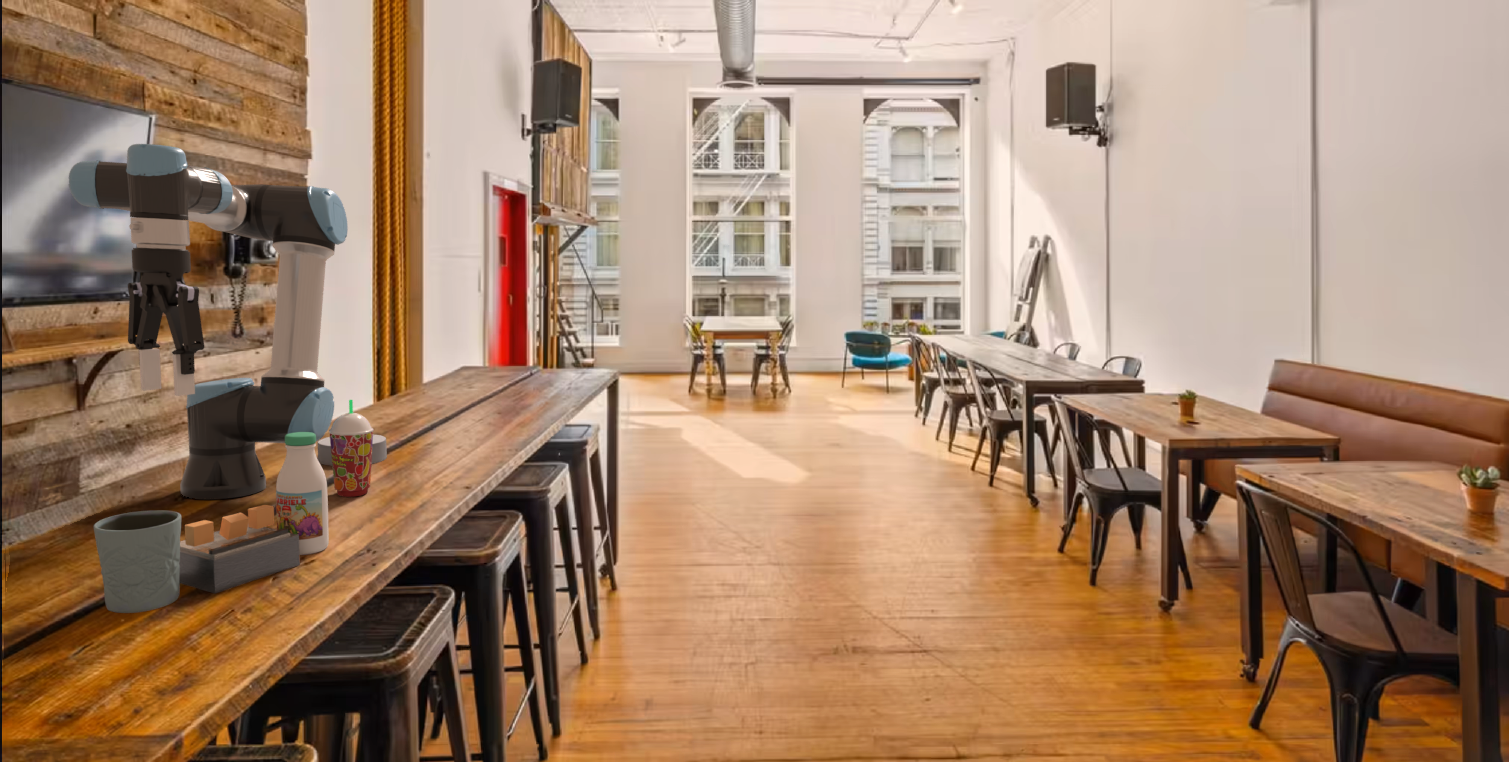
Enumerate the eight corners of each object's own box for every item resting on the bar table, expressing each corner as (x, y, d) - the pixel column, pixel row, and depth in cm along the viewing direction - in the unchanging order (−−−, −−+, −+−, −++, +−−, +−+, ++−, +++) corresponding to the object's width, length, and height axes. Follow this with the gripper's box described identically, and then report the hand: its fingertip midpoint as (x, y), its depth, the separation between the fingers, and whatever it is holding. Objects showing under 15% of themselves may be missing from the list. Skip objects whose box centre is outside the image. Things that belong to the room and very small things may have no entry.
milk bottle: (290, 541, 149) (286, 428, 146) (336, 542, 149) (333, 430, 147) (269, 556, 141) (265, 437, 138) (317, 557, 142) (314, 439, 139)
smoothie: (321, 495, 177) (319, 400, 174) (353, 486, 185) (352, 395, 182) (351, 501, 174) (349, 404, 171) (383, 491, 182) (381, 399, 179)
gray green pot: (130, 620, 115) (125, 534, 114) (80, 607, 119) (75, 523, 117) (201, 594, 125) (198, 515, 123) (153, 583, 128) (149, 505, 126)
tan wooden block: (248, 527, 137) (247, 508, 136) (265, 522, 139) (265, 504, 139) (257, 529, 136) (256, 510, 135) (274, 524, 139) (273, 506, 138)
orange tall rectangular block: (185, 544, 127) (184, 525, 127) (205, 538, 130) (204, 520, 130) (194, 546, 127) (193, 527, 126) (214, 541, 129) (213, 522, 129)
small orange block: (219, 534, 132) (222, 517, 131) (237, 528, 135) (241, 512, 134) (227, 539, 131) (231, 523, 130) (246, 534, 134) (249, 518, 133)
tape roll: (303, 462, 204) (302, 441, 204) (350, 450, 219) (350, 431, 218) (355, 469, 200) (355, 448, 199) (400, 456, 214) (400, 437, 214)
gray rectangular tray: (162, 578, 130) (160, 540, 129) (249, 552, 143) (247, 517, 142) (215, 593, 125) (213, 554, 124) (299, 564, 138) (298, 529, 137)
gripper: (94, 244, 133) (102, 388, 136) (179, 248, 125) (186, 401, 128) (144, 246, 140) (151, 383, 143) (228, 250, 132) (233, 395, 135)
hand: (167, 391), depth 136 cm, fingers open, 8 cm apart
